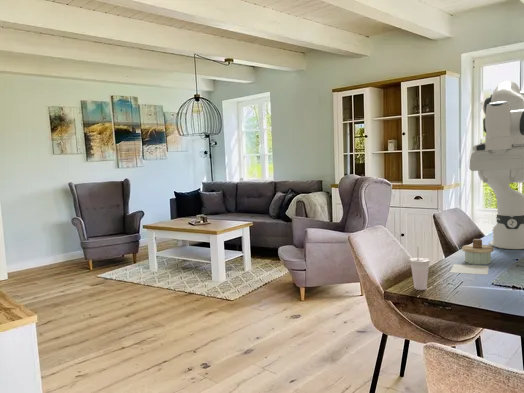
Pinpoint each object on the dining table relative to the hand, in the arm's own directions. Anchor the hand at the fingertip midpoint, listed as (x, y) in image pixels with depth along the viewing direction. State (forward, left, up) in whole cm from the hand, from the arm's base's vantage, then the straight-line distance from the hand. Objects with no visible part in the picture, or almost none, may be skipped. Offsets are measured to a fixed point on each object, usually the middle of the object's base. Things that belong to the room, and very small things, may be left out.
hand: (499, 182), depth 168 cm
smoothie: (+40, -23, -31) cm, 56 cm away
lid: (+1, -8, -26) cm, 27 cm away
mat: (+14, -10, -31) cm, 36 cm away
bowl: (+1, -8, -31) cm, 32 cm away
